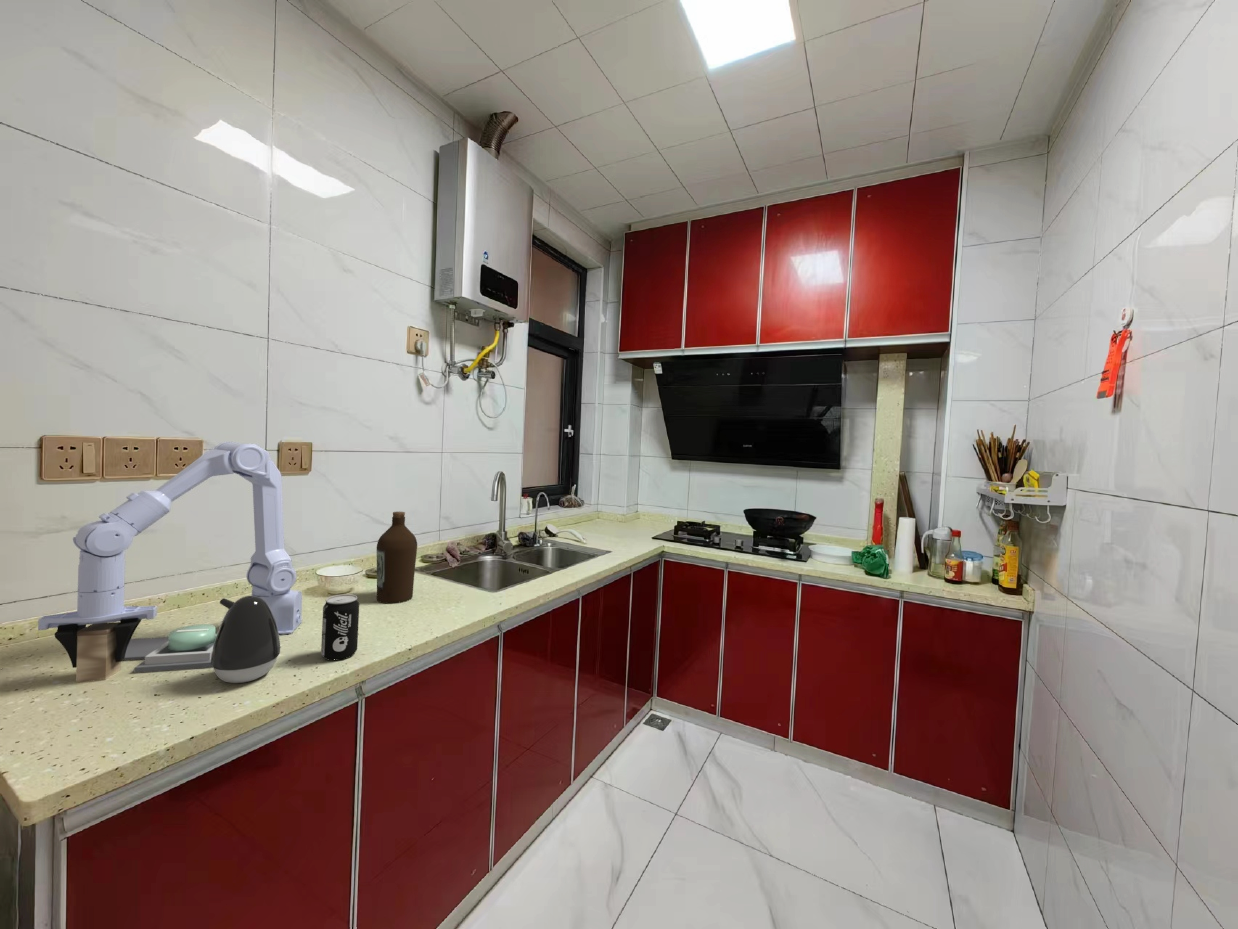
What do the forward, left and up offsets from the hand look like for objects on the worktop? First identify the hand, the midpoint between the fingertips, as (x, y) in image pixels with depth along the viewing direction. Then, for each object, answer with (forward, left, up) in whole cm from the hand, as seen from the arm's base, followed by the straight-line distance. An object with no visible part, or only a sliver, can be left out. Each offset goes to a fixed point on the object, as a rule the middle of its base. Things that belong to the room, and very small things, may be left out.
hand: (99, 662), depth 86 cm
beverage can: (-38, -2, -3) cm, 38 cm away
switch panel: (-11, -6, -2) cm, 13 cm away
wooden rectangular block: (0, 0, -2) cm, 2 cm away
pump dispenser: (-24, +5, -3) cm, 25 cm away
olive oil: (-44, -39, -3) cm, 59 cm away
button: (-11, -6, 0) cm, 13 cm away
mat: (0, -11, -2) cm, 11 cm away
